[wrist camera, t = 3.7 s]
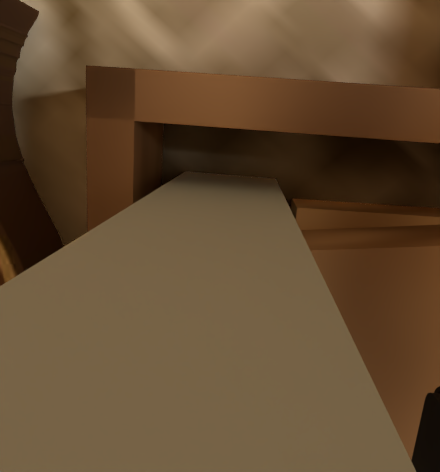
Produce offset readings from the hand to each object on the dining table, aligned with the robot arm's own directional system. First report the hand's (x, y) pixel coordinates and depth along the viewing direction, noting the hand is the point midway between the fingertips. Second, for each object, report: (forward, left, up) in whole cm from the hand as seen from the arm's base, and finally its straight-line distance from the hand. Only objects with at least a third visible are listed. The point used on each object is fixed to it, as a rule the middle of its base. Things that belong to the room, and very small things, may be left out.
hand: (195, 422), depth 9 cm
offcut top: (-5, 0, -5) cm, 7 cm away
